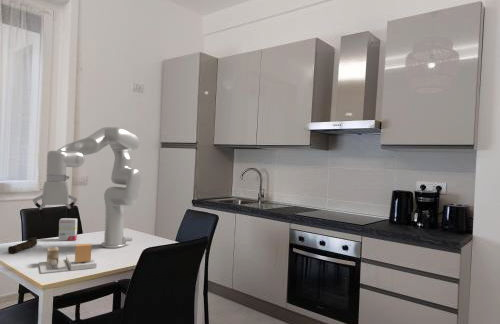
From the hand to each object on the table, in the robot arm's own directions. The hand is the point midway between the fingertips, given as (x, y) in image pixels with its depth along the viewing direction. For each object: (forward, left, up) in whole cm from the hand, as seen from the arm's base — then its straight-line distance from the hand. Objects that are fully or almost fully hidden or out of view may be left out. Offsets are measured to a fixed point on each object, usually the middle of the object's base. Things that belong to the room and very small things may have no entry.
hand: (54, 217), depth 166 cm
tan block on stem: (0, +4, -20) cm, 20 cm away
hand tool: (+11, -32, -21) cm, 40 cm away
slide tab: (-11, +9, -18) cm, 23 cm away
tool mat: (0, +5, -20) cm, 21 cm away
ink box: (-11, -47, -21) cm, 52 cm away
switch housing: (-11, +4, -20) cm, 23 cm away
